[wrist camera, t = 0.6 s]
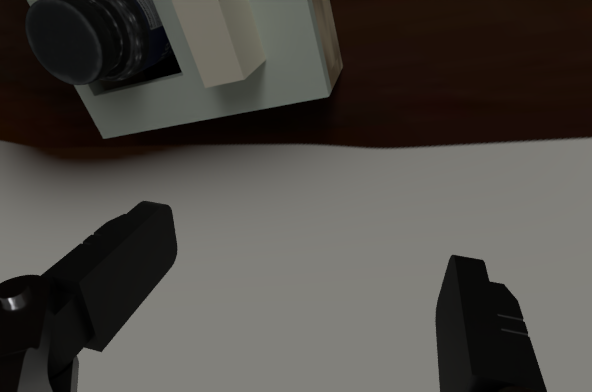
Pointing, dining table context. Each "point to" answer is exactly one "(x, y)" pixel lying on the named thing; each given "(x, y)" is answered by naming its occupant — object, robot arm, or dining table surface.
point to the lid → (220, 65)
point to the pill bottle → (96, 38)
